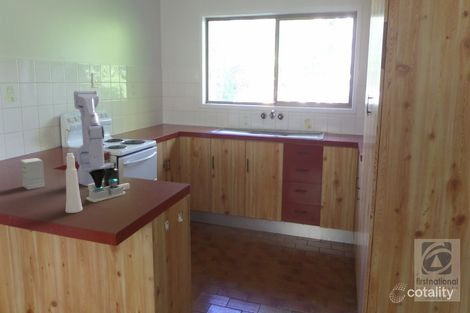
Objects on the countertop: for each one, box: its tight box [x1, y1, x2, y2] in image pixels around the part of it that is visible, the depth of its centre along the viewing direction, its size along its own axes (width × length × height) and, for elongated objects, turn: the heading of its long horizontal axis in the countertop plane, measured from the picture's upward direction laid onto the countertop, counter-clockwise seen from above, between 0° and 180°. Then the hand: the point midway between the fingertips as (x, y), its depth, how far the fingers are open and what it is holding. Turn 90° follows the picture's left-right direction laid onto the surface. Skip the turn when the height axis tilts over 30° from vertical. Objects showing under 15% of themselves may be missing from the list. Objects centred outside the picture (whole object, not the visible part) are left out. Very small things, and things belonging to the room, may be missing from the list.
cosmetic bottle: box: [65, 152, 84, 214], centre depth 140 cm, size 6×6×22 cm
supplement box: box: [20, 157, 46, 191], centre depth 171 cm, size 7×7×13 cm
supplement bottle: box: [103, 161, 121, 188], centre depth 170 cm, size 7×7×12 cm
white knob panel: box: [86, 180, 130, 203], centre depth 165 cm, size 18×21×4 cm
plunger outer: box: [94, 186, 104, 192], centre depth 156 cm, size 4×4×4 cm
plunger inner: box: [109, 179, 118, 189], centre depth 160 cm, size 4×4×4 cm
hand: (98, 187), depth 155 cm, fingers closed, pressing on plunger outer
